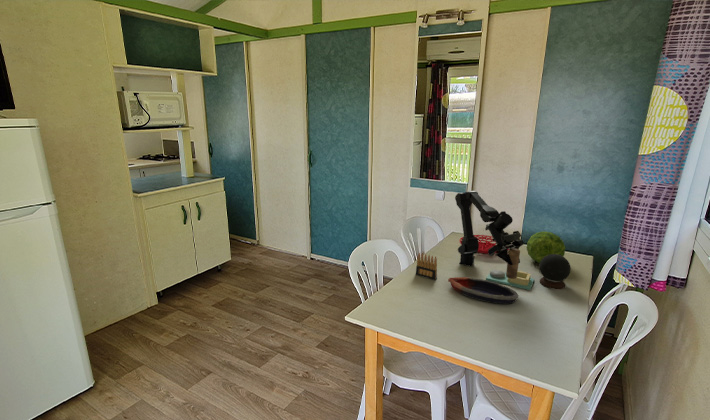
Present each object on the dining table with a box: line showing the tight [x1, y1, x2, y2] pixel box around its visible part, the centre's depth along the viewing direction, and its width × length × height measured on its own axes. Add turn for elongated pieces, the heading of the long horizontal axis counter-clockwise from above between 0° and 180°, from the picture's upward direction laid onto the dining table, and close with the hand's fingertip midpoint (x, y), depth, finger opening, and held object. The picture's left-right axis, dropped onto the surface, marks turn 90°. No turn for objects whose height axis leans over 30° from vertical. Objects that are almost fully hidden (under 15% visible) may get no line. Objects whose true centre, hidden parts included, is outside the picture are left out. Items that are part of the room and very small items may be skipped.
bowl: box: [459, 234, 509, 255], centre depth 222 cm, size 29×29×5 cm
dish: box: [447, 276, 519, 305], centre depth 168 cm, size 16×31×5 cm, turn 55°
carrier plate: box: [485, 269, 535, 291], centre depth 183 cm, size 20×12×4 cm, turn 57°
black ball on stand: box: [538, 254, 572, 290], centre depth 178 cm, size 13×13×15 cm
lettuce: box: [526, 230, 566, 265], centre depth 204 cm, size 19×23×18 cm
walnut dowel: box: [505, 248, 521, 279], centre depth 170 cm, size 5×5×13 cm
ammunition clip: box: [415, 252, 438, 281], centre depth 185 cm, size 11×2×12 cm, turn 55°
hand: (515, 263), depth 169 cm, fingers closed on walnut dowel, 5 cm apart
